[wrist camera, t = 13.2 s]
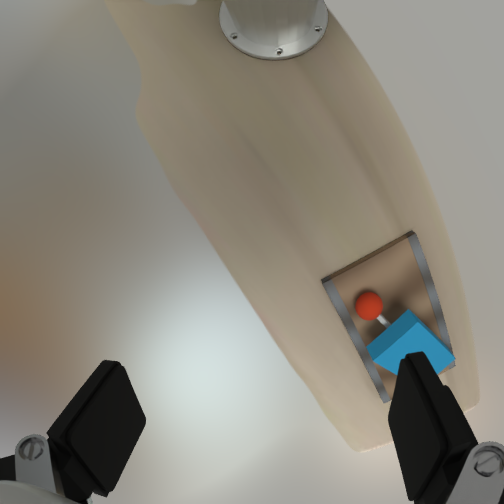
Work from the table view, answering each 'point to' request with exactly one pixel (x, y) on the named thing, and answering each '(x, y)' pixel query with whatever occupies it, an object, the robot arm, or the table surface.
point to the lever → (401, 337)
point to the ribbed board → (387, 299)
